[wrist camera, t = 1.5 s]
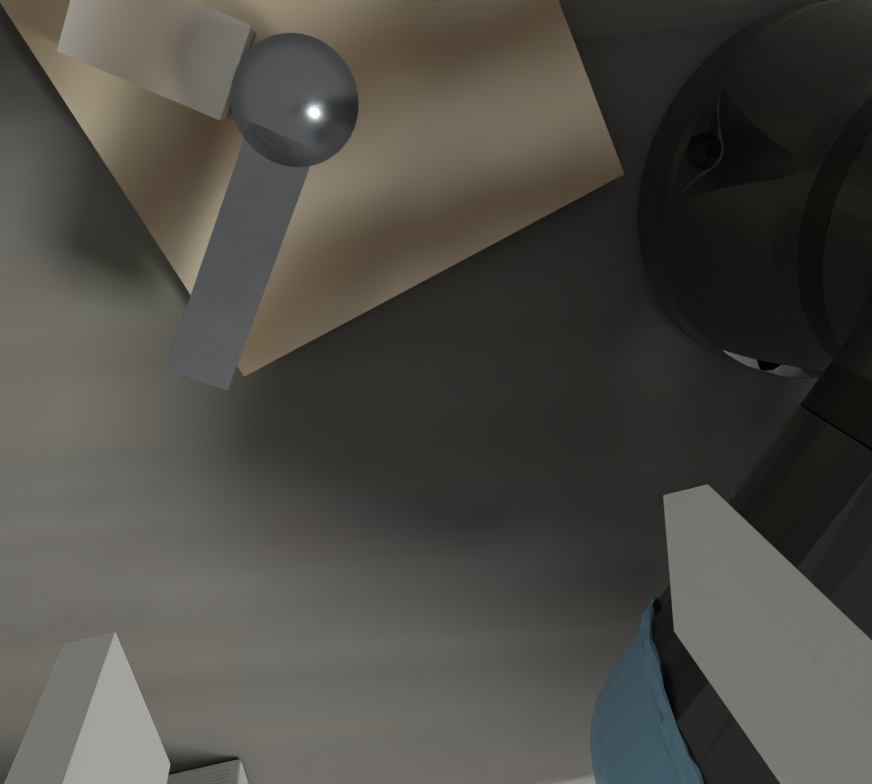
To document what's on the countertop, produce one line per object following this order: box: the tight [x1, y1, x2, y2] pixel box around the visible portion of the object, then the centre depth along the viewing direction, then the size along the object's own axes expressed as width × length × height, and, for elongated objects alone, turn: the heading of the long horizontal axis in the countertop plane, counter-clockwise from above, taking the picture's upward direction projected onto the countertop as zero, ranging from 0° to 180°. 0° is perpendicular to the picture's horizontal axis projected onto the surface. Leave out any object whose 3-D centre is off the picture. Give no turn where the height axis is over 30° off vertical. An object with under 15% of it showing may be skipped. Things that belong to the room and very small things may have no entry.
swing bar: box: [165, 33, 359, 391], centre depth 24 cm, size 11×4×2 cm, turn 157°
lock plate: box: [0, 0, 624, 377], centre depth 26 cm, size 15×17×8 cm
